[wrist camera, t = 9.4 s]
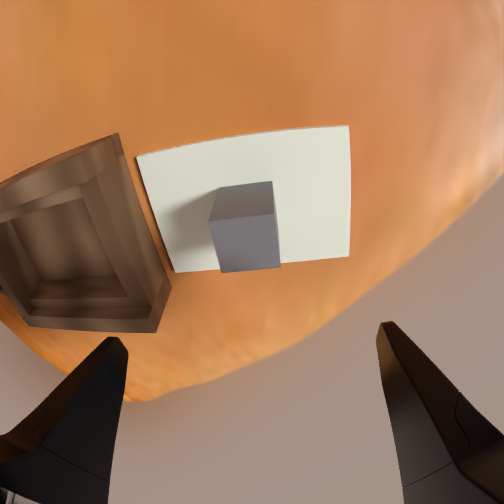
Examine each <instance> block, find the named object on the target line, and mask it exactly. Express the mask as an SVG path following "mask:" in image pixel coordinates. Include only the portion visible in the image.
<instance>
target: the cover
mask: <svg viewBox="0 0 504 504" xmlns="http://www.w3.org/2000/svg"><path fill="white" fill-rule="evenodd" d="M136 158H137V161H138V165H139V168H140V171H141V175H142V178H143V181H144V184H145V188H146V191H147V194H148V197H149V200H150V203H151V206H152V209H153V212H154V215H155V218H156V221H157V224H158V227H159V230H160V232H161V235H162V238H163V241H164V244H165V246H166V249H167V252H168V255H169V257H170V260H171V263H172V265H173V268H174V270H175V273H181V272H192V271H203V270H214V269H221V273H228V272H239V271H250V270H261V269H271V268H281V263H288V262H298V261H308V260H317V259H327V258H336V257H346V256H349V243H350V211H351V170H350V139H349V126H348V125H328V126H313V127H300V128H289V129H279V130H270V131H262V132H254V133H247V134H240V135H233V136H227V137H221V138H215V139H209V140H204V141H198V142H193V143H188V144H183V145H179V146H174V147H169V148H165V149H161V150H156V151H152V152H148V153H144V154H140V155H138V156H137V157H136Z"/></svg>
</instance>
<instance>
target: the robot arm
mask: <svg viewBox="0 0 504 504" xmlns="http://www.w3.org/2000/svg"><path fill="white" fill-rule="evenodd" d="M0 293H5V292H4V290H3V288H2V287H1V285H0ZM376 346H377V352H378V359H379V366H380V373H381V380H382V386H383V391H384V395H385V399H386V403H387V408H388V412H389V417H390V421H391V426H392V431H393V435H394V441H395V446H396V451H397V457H398V463H399V469H400V475H401V481H402V487H403V496H404V504H504V435H503V434H502V433H501V432H500V431H499V430H498V429H497V428H496V427H495V426H493V425H492V424H491V423H490V422H489V421H488V420H487V419H486V418H485V417H484V416H483V415H481V413H480V412H478V411H477V410H476V409H475V408H474V407H473V405H472V404H471V403H470V402H469V401H468V400H467V399H466V398H465V397H464V396H463V395H462V393H461V392H459V390H458V389H457V388H456V387H455V386H454V385H453V384H452V382H451V381H450V380H449V379H448V378H447V377H446V376H445V375H444V374H443V373H442V372H441V370H440V369H438V367H437V366H436V365H435V364H434V363H433V362H432V361H431V360H430V359H429V358H428V357H427V356H426V355H425V353H424V352H423V351H422V350H421V349H420V348H419V347H418V346H417V345H416V344H415V343H414V342H413V341H412V340H411V339H410V338H409V337H408V336H407V335H406V334H405V333H404V332H403V331H402V330H401V329H400V328H399V327H398V326H397V325H396V324H395V323H394V322H393V321H388V322H382V323H381V324H380V326H379V330H378V334H377V338H376ZM127 364H128V351H127V349H126V347H125V346H124V345H123V343H122V342H121V340H120V339H119V338H118V337H107V338H106V339H105V340H104V341H103V342H102V343H101V344H100V345H99V346H98V347H97V348H96V349H95V350H94V351H93V352H91V353H90V354H89V355H88V356H87V357H86V358H85V359H84V360H83V361H82V362H81V363H80V364H79V365H78V366H77V367H76V368H75V369H74V370H73V371H72V372H71V373H70V374H69V375H68V376H67V377H66V378H65V379H64V380H63V381H62V382H61V383H60V384H59V385H58V386H57V387H56V388H55V389H54V390H53V391H52V392H51V393H50V394H49V396H48V397H47V398H46V399H45V400H44V401H43V402H42V403H41V404H40V405H39V406H38V407H37V408H36V409H35V410H33V412H31V413H30V414H29V415H28V416H27V417H26V418H25V419H23V420H22V421H21V422H20V423H19V424H18V425H17V426H16V427H14V428H13V429H12V430H11V431H10V432H8V433H6V434H4V435H0V504H108V495H109V485H110V475H111V468H112V460H113V453H114V446H115V440H116V433H117V428H118V422H119V417H120V411H121V405H122V401H123V396H124V390H125V382H126V372H127Z"/></svg>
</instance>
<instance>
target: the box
mask: <svg viewBox="0 0 504 504" xmlns="http://www.w3.org/2000/svg"><path fill="white" fill-rule="evenodd" d="M0 285H1V287H2V288H3V290H4V292H5V293H6V295H7V296H8V298H9V299H10V301H11V302H12V303H13V305H14V306H15V308H16V309H17V311H18V312H19V313H20V315H21V316H22V318H23V319H24V320H25V322H26V323H27V324H28V326H32V327H42V328H53V329H65V330H80V331H98V332H124V333H156V332H157V329H158V326H159V323H160V320H161V317H162V314H163V311H164V308H165V305H166V303H167V300H168V297H169V294H170V292H171V289H172V287H171V285H170V282H169V280H168V277H167V275H166V272H165V270H164V267H163V265H162V262H161V260H160V257H159V255H158V252H157V250H156V247H155V244H154V242H153V239H152V236H151V234H150V231H149V228H148V225H147V223H146V220H145V217H144V214H143V211H142V208H141V205H140V202H139V200H138V197H137V194H136V190H135V187H134V184H133V181H132V178H131V175H130V172H129V168H128V165H127V162H126V159H125V155H124V152H123V148H122V145H121V141H120V138H119V134H118V133H116V134H113V135H110V136H107V137H104V138H101V139H98V140H96V141H93V142H90V143H87V144H85V145H82V146H79V147H77V148H74V149H72V150H69V151H67V152H64V153H62V154H60V155H57V156H55V157H53V158H50V159H48V160H46V161H43V162H41V163H39V164H37V165H35V166H33V167H31V168H28V169H26V170H24V171H22V172H20V173H18V174H16V175H14V176H12V177H11V178H9V179H7V180H5V181H3V182H1V183H0Z"/></svg>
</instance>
